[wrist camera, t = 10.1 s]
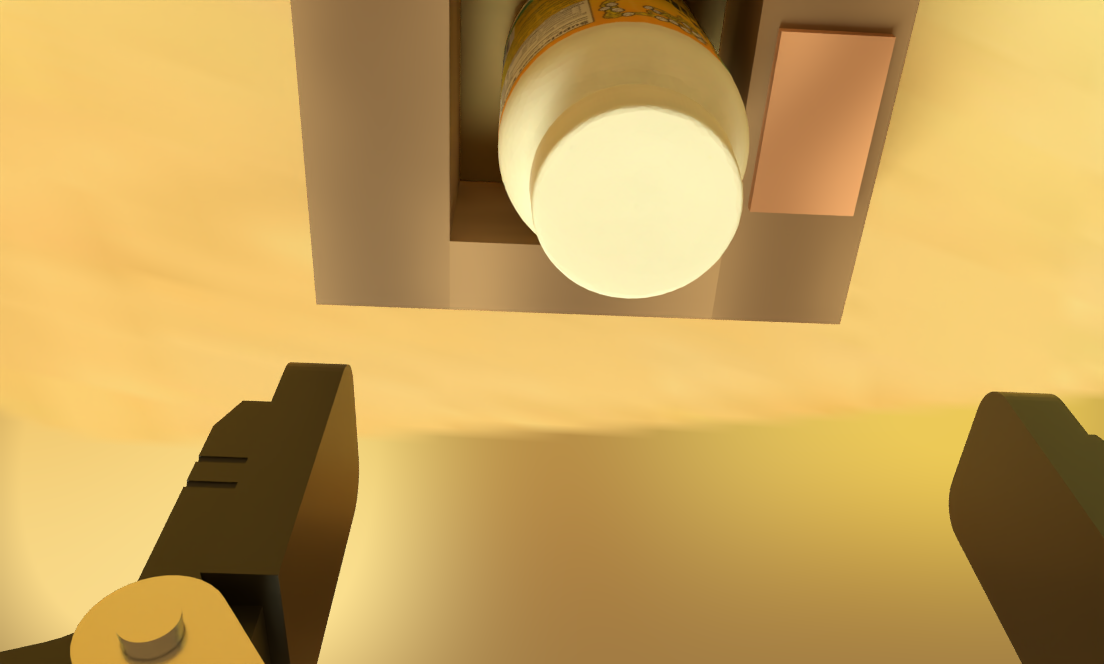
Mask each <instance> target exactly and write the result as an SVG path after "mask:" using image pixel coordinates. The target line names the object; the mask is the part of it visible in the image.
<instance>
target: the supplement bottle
mask: <svg viewBox="0 0 1104 664" xmlns="http://www.w3.org/2000/svg"><path fill="white" fill-rule="evenodd" d="M748 154H749V127H748V119H747V115H746V111H745V107H744V104H743V101H742V98H741V96H740V93H739V91H738V88H737V86H736V84H735V83H734V80H733V78H732V76H731V74H730V72H729V70H728V69H727V68H726V66H725V65H724V63H723V62H722V60H721V59H720V57H719V56H718V54H717V53H716V51H715V49H714V48H713V46H712V44H711V42H710V41H709V40H708V38H707V37H706V35H705V34H704V32H703V30H702V29H701V27H700V26H699V24H698V22H697V21H696V19H695V17H694V15H693V14H692V12H691V11H690V9H689V8H688V6H687V5H686V3H685V2H684V1H683V0H527V2H526V3H525V4H524V6H523V7H522V9H521V10H520V12H519V13H518V15H517V16H516V18H515V20H514V23H513V25H512V27H511V29H510V32H509V35H508V38H507V42H506V46H505V53H504V60H503V72H502V85H501V100H500V116H499V130H498V158H499V166H500V171H501V176H502V180H503V183H504V186H505V189H506V191H507V194H508V196H509V198H510V200H511V202H512V204H513V206H514V208H515V209H516V211H517V212H518V214H519V215H520V217H521V218H522V220H523V221H524V222H525V223H526V224H527V226H528V227H529V228H530V229H531V230H532V231H533V232H534V233H535V234H536V235H537V237H538V239H539V242H540V244H541V246H542V248H543V250H544V252H545V253H546V255H547V256H548V258H549V259H550V261H551V262H552V263H553V264H554V265H555V266H556V267H557V268H558V269H559V270H560V271H561V272H562V273H563V274H564V275H565V276H566V277H568V278H569V279H570V280H572V281H573V282H575V283H576V284H578V285H580V286H582V287H584V288H586V289H588V290H590V291H593V292H596V293H599V294H602V295H606V296H610V297H617V298H628V299H629V298H647V297H652V296H658V295H662V294H665V293H668V292H672V291H674V290H676V289H679V288H681V287H684V286H685V285H687V284H689V283H690V282H692V281H694V280H696V279H697V278H698V277H700V276H701V275H702V274H704V273H705V272H706V271H707V270H708V269H709V268H711V267H712V266H713V265H714V264H715V263H716V262H717V261H718V260H719V259H720V257H721V256H722V254H723V253H724V251H725V250H726V249H727V247H728V245H729V244H730V242H731V240H732V239H733V237H734V235H735V232H736V230H737V228H738V225H739V221H740V217H741V213H742V207H743V183H742V180H743V177H744V174H745V171H746V166H747V160H748Z"/></svg>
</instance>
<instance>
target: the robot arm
mask: <svg viewBox="0 0 1104 664" xmlns="http://www.w3.org/2000/svg"><path fill="white" fill-rule="evenodd" d="M358 482H359V457H358V443H357V428H356V414H355V400H354V385H353V375H352V370H351V367H350V365H344V364H319V363H294V362H290V363H288V365H287V366H286V368H285V370H284V372H283V375H282V377H281V380H280V382H279V384H278V387H277V389H276V392H275V394H274V396H273V399H272V401H271V402H264V401H242V402H241V403H240V404H239V405H238V406H236V407H235V408H234V409H233V410H232V411H230V412H229V413H228V414H227V415H226V416H225V417H223V418H222V419H221V420H220V421H219V422H217V423H216V424H215V425H214V426H213V428H212V430H211V432H210V434H209V436H208V438H207V440H206V442H205V444H204V446H203V448H202V450H201V453H200V454H199V461H198V462H196V463H195V465H194V467H193V469H192V471H191V473H190V475H189V477H188V479H187V486H186V487H183V489H182V491H181V493H180V495H179V498H178V500H177V502H176V504H175V506H174V508H173V510H172V512H171V514H170V516H169V518H168V520H167V522H166V524H165V527H164V528H163V531H162V532H161V534H160V537H159V539H158V541H157V543H156V545H155V547H154V549H153V551H152V553H151V555H150V557H149V559H148V561H147V563H146V565H145V567H144V569H143V571H142V574H141V576H140V578H139V580H138V581H137V582H134V583H131V584H129V585H127V586H124V587H122V588H120V589H118V590H116V591H114V592H113V593H111V594H109V595H108V596H106V597H105V598H103V599H102V600H101V601H100V602H98V603H97V604H96V605H95V606H93V607H92V609H91V610H90V611H89V612H88V613H87V614H86V615H85V616H84V618H83V619H82V620H81V622H80V623H79V624H78V626H77V628H76V630H75V632H74V633H72V634H70V635H67V636H64V637H62V638H58V639H55V640H51V641H48V642H44V643H39V644H35V645H30V646H25V647H21V648H17V649H13V650H8V651H3V652H0V664H317V661H318V657H319V653H320V649H321V645H322V641H323V637H324V633H325V628H326V625H327V621H328V617H329V613H330V609H331V605H332V601H333V596H334V593H335V589H336V584H337V581H338V576H339V573H340V568H341V565H342V560H343V556H344V552H345V548H346V544H347V540H348V536H349V532H350V528H351V524H352V520H353V516H354V512H355V507H356V501H357V493H358ZM949 513H950V520H951V524H952V528H953V531H954V533H955V535H956V537H957V539H958V541H959V543H960V545H961V547H962V549H963V551H964V552H965V554H966V557H967V558H968V560H969V562H970V564H971V566H972V568H973V570H974V572H975V574H976V576H977V578H978V580H979V582H980V583H981V585H982V587H983V589H984V591H985V593H986V595H987V597H988V599H989V601H990V603H991V605H992V607H993V609H994V610H995V612H996V614H997V616H998V618H999V620H1000V622H1001V624H1002V626H1003V628H1004V630H1005V632H1006V634H1007V635H1008V637H1009V639H1010V641H1011V643H1012V645H1013V647H1014V649H1015V651H1016V653H1017V655H1018V657H1019V659H1020V660H1021V662H1022V664H1104V440H1102V439H1101V438H1099V437H1098V436H1097V435H1088V434H1087V432H1086V431H1085V430H1084V428H1083V427H1082V426H1081V425H1080V423H1079V422H1078V421H1077V419H1076V418H1075V417H1074V416H1073V415H1072V413H1071V412H1070V411H1069V409H1068V408H1067V407H1066V406H1065V404H1064V403H1063V402H1062V401H1061V400H1060V399H1059V398H1058V397H1057V396H1055V395H1053V394H1040V393H1014V392H990V393H988V394H987V395H986V396H985V397H984V398H983V399H982V401H981V403H980V405H979V407H978V410H977V413H976V416H975V418H974V421H973V424H972V427H971V430H970V433H969V435H968V439H967V441H966V444H965V447H964V450H963V452H962V455H961V458H960V461H959V464H958V467H957V469H956V472H955V475H954V478H953V481H952V484H951V488H950V494H949Z"/></svg>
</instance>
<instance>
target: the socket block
mask: <svg viewBox="0 0 1104 664" xmlns="http://www.w3.org/2000/svg"><path fill="white" fill-rule="evenodd" d="M919 1H920V0H727V2H726V9H725V16H724V23H723V30H722V37H721V44H720V50H719V57H720V59H721V60H722V62H723V63H724V65H725V66H726V68H727V69H728V70H729V72H730V74H731V76H732V78H733V80H734V83H735V84H736V86H737V88H738V91H739V93H740V96H741V98H742V101H743V104H744V107H745V111H746V115H747V119H748V127H749V154H748V160H747V166H746V171H745V174H744V177H743V180H742V183H743V207H742V213H741V217H740V221H739V225H738V228H737V230H736V232H735V235H734V237H733V239H732V240H731V242H730V244H729V245H728V247H727V249H726V250H725V251H724V253H723V254H722V256H721V257H720V259H719V260H718V261H717V262H716V263H715V264H714V265H713V266H712V267H711V268H709V269H708V270H707V271H706V272H705V273H704V274H702V275H701V276H700V277H698V278H697V279H696V280H694V281H692V282H690V283H689V284H687V285H685V286H684V287H681V288H679V289H676V290H674V291H672V292H668V293H665V294H662V295H658V296H652V297H647V298H629V299H628V298H617V297H610V296H606V295H602V294H599V293H596V292H593V291H590V290H588V289H586V288H584V287H582V286H580V285H578V284H576V283H575V282H573V281H572V280H570V279H569V278H568V277H566V276H565V275H564V274H563V273H562V272H561V271H560V270H559V269H558V268H557V267H556V266H555V265H554V264H553V263H552V262H551V261H550V259H549V258H548V256H547V255H546V253H545V252H544V250H543V248H542V246H541V244H540V242H539V239H538V237H537V235H536V234H535V233H534V232H533V231H532V230H531V229H530V228H529V227H528V226H527V224H526V223H525V222H524V221H523V220H522V218H521V217H520V215H519V214H518V212H517V211H516V209H515V208H514V206H513V204H512V202H511V200H510V198H509V196H508V194H507V191H506V189H505V186H504V183H503V182H480V181H460V32H461V0H291V11H292V22H293V34H294V46H295V57H296V69H297V81H298V92H299V104H300V116H301V127H302V139H303V151H304V163H305V174H306V186H307V198H308V209H309V221H310V233H311V244H312V256H313V268H314V279H315V291H316V303H317V304H323V305H349V306H375V307H402V308H428V309H454V310H480V311H506V312H533V313H559V314H585V315H611V316H638V317H664V318H690V319H716V320H742V321H769V322H795V323H821V324H840V321H841V317H842V313H843V309H844V305H845V301H846V297H847V293H848V289H849V285H850V281H851V277H852V273H853V269H854V265H855V261H856V256H857V252H858V248H859V244H860V240H861V236H862V232H863V228H864V224H865V220H866V216H867V212H868V208H869V204H870V200H871V196H872V192H873V188H874V183H875V179H876V175H877V171H878V167H879V163H880V159H881V155H882V151H883V147H884V143H885V139H886V135H887V131H888V127H889V123H890V119H891V115H892V110H893V106H894V102H895V98H896V94H897V90H898V86H899V82H900V78H901V74H902V70H903V66H904V62H905V58H906V54H907V50H908V46H909V41H910V37H911V33H912V29H913V25H914V21H915V17H916V13H917V9H918V5H919Z"/></svg>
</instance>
